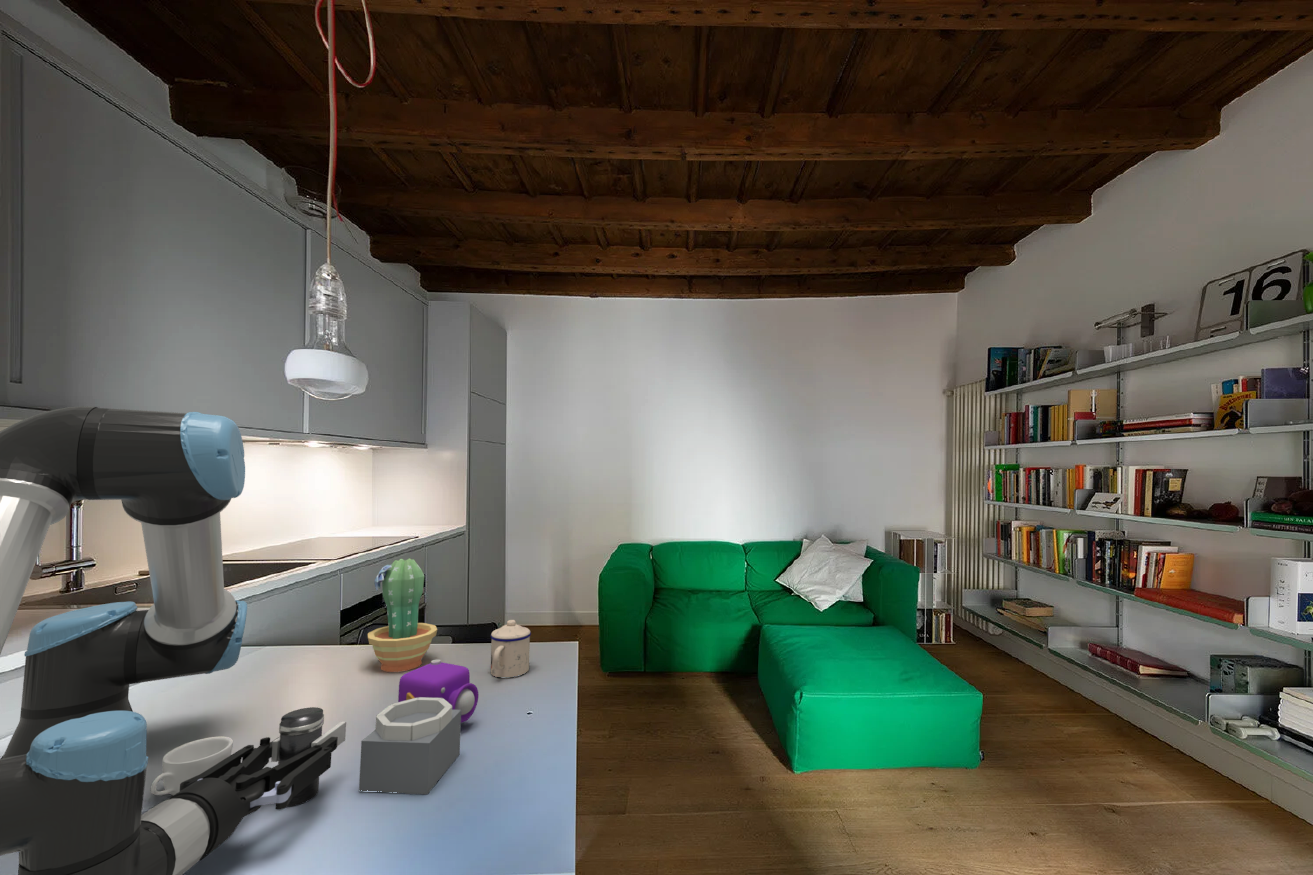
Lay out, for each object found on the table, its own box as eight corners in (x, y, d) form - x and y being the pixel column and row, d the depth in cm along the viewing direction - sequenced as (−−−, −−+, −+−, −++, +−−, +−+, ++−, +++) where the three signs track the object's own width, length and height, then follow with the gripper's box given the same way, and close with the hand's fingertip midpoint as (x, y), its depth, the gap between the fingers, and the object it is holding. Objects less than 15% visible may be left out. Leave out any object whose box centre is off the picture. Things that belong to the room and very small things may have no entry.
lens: (264, 806, 72) (270, 722, 73) (293, 784, 77) (298, 706, 78) (301, 808, 72) (307, 723, 73) (328, 786, 77) (332, 707, 78)
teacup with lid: (501, 663, 128) (502, 614, 129) (536, 666, 127) (537, 616, 128) (475, 682, 117) (477, 628, 118) (513, 685, 115) (515, 630, 116)
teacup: (200, 771, 81) (203, 734, 81) (244, 775, 80) (246, 738, 80) (125, 811, 71) (129, 769, 71) (174, 817, 70) (177, 774, 70)
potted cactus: (398, 652, 136) (402, 553, 138) (449, 657, 132) (453, 556, 134) (348, 673, 121) (354, 562, 123) (405, 680, 117) (410, 566, 119)
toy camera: (457, 742, 90) (459, 681, 91) (387, 733, 93) (390, 674, 94) (489, 714, 101) (491, 660, 102) (425, 707, 104) (428, 655, 104)
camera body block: (358, 791, 76) (362, 726, 76) (399, 752, 87) (402, 695, 87) (427, 794, 75) (430, 728, 76) (459, 754, 86) (461, 697, 87)
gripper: (98, 865, 57) (266, 754, 80) (258, 872, 56) (381, 758, 80) (104, 792, 58) (269, 702, 81) (263, 798, 57) (384, 706, 80)
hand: (324, 730), depth 80 cm, fingers closed on lens, 5 cm apart
